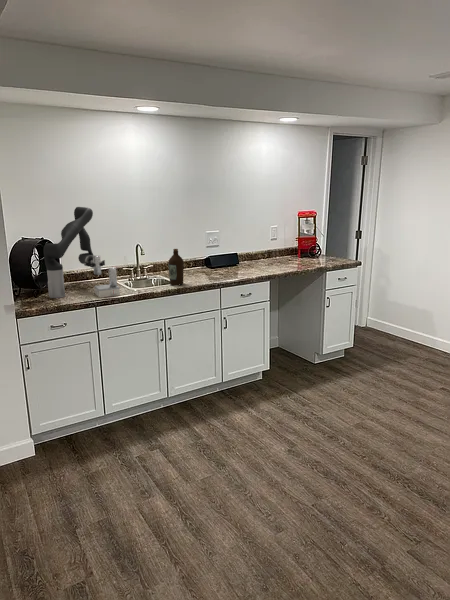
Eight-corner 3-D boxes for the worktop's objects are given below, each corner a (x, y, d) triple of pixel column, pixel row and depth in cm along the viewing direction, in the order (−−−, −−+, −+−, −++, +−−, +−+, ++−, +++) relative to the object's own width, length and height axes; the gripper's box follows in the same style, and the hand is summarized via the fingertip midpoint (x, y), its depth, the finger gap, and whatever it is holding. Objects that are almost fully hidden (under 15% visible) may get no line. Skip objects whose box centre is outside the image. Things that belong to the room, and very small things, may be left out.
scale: (99, 297, 282) (99, 289, 281) (94, 293, 293) (94, 285, 292) (120, 295, 288) (119, 287, 287) (114, 291, 299) (114, 283, 298)
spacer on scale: (110, 287, 286) (109, 269, 283) (108, 286, 290) (107, 268, 287) (118, 287, 288) (116, 268, 285) (116, 285, 292) (114, 267, 289)
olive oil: (176, 282, 327) (175, 247, 321) (187, 284, 321) (186, 248, 314) (165, 284, 318) (164, 249, 312) (177, 286, 312) (176, 250, 306)
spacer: (94, 275, 293) (93, 256, 290) (93, 273, 297) (92, 255, 294) (102, 274, 295) (101, 256, 292) (100, 273, 299) (99, 255, 296)
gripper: (80, 256, 302) (86, 259, 288) (102, 255, 309) (108, 258, 295) (81, 267, 304) (87, 271, 290) (102, 265, 311) (109, 269, 296)
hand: (98, 264), depth 292 cm, fingers closed on spacer, 4 cm apart
